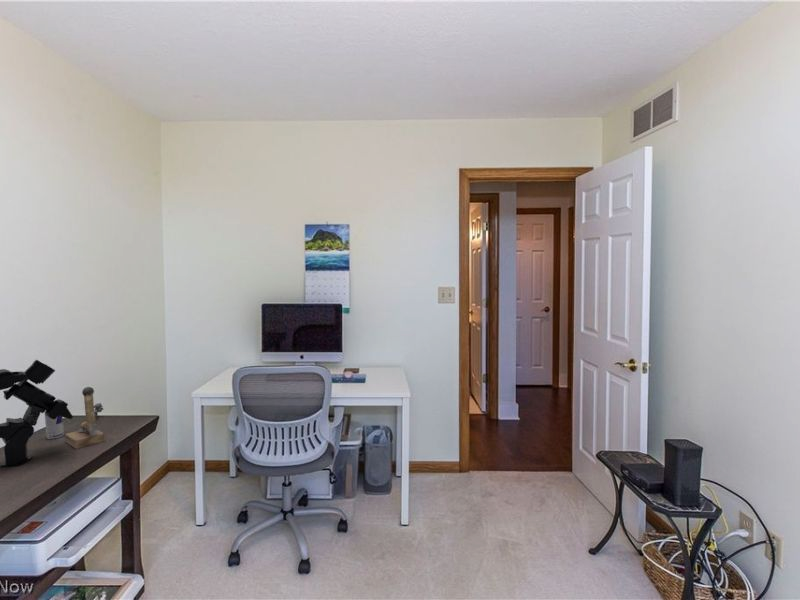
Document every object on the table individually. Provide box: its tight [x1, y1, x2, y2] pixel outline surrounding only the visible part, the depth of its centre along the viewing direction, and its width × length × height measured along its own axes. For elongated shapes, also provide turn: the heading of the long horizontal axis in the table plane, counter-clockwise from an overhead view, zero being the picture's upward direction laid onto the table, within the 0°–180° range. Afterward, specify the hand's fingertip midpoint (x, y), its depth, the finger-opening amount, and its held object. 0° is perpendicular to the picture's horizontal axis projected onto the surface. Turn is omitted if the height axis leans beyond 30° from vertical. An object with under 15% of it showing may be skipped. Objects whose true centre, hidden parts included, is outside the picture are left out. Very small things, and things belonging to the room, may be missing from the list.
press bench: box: [64, 420, 105, 450], centre depth 173 cm, size 9×12×7 cm
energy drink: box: [44, 411, 65, 440], centre depth 179 cm, size 5×5×12 cm
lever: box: [81, 386, 96, 431], centre depth 172 cm, size 4×4×17 cm
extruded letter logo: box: [94, 402, 104, 422], centre depth 198 cm, size 25×2×6 cm, turn 21°
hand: (71, 417), depth 167 cm, fingers closed
